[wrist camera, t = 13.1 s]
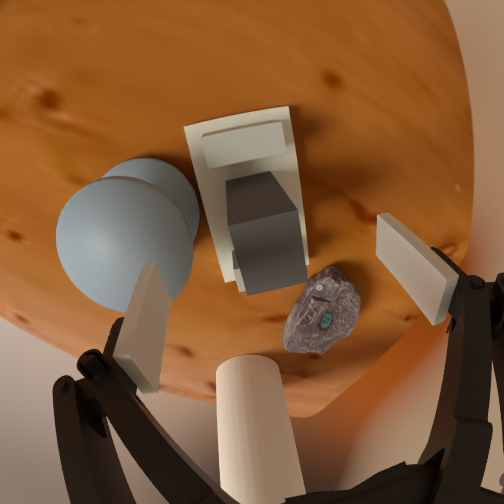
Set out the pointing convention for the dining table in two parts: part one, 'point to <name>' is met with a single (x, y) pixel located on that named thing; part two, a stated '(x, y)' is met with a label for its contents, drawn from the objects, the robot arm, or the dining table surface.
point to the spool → (129, 231)
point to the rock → (322, 313)
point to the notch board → (242, 169)
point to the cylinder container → (255, 433)
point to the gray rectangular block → (265, 233)
